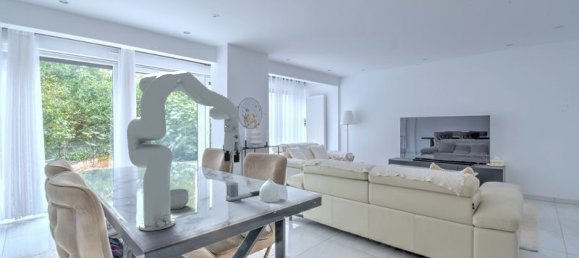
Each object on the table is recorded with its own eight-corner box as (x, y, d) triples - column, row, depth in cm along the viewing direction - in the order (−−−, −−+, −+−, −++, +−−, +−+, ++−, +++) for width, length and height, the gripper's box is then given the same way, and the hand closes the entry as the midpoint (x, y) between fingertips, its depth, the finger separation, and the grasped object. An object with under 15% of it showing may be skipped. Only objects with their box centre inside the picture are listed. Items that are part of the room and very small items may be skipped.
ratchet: (265, 194, 158) (265, 185, 158) (230, 202, 143) (229, 192, 143) (258, 192, 163) (258, 184, 163) (223, 199, 148) (223, 190, 148)
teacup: (192, 204, 139) (192, 188, 139) (182, 210, 128) (182, 193, 128) (166, 204, 140) (165, 188, 140) (153, 210, 129) (153, 193, 129)
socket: (238, 195, 148) (238, 182, 148) (230, 197, 145) (230, 183, 145) (233, 194, 151) (233, 181, 151) (226, 195, 148) (226, 182, 148)
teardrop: (255, 201, 143) (255, 178, 143) (263, 196, 153) (263, 174, 154) (276, 202, 140) (275, 178, 140) (282, 197, 150) (282, 175, 150)
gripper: (246, 129, 144) (246, 162, 144) (229, 129, 157) (229, 160, 157) (233, 129, 139) (234, 163, 139) (217, 129, 152) (217, 161, 152)
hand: (231, 161), depth 148 cm, fingers open, 9 cm apart
